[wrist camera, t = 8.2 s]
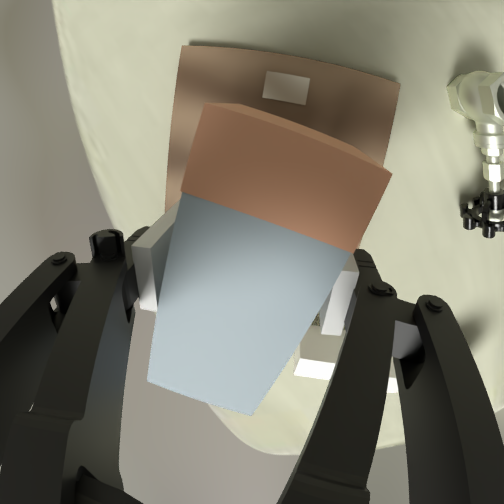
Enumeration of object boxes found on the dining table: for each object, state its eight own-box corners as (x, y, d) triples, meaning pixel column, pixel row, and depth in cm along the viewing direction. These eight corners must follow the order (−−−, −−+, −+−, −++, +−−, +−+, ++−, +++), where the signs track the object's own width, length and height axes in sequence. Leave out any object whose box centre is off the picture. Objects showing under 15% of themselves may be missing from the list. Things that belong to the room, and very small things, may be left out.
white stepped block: (263, 328, 31) (257, 370, 26) (357, 268, 26) (370, 307, 21) (340, 395, 35) (343, 432, 30) (419, 354, 30) (432, 390, 25)
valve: (426, 74, 18) (447, 213, 22) (467, 68, 12) (483, 247, 17) (486, 72, 16) (501, 201, 21) (533, 71, 10) (541, 230, 15)
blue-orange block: (186, 297, 18) (145, 381, 12) (244, 104, 12) (204, 102, 7) (265, 325, 18) (252, 417, 12) (348, 142, 13) (392, 174, 7)
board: (187, 47, 19) (129, 23, 11) (395, 84, 18) (452, 77, 10) (168, 271, 28) (126, 334, 20) (334, 304, 28) (345, 379, 20)
